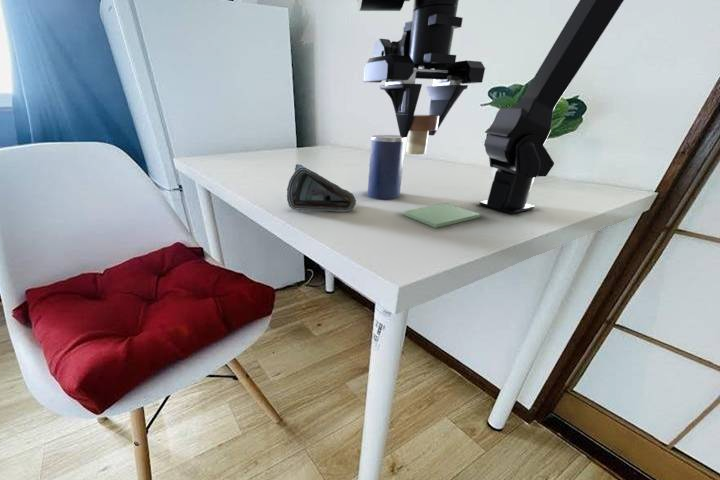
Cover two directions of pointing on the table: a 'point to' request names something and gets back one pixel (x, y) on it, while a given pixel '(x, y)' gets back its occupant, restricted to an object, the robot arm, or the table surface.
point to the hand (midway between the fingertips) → (417, 136)
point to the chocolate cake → (317, 193)
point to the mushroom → (420, 133)
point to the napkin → (441, 215)
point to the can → (386, 166)
